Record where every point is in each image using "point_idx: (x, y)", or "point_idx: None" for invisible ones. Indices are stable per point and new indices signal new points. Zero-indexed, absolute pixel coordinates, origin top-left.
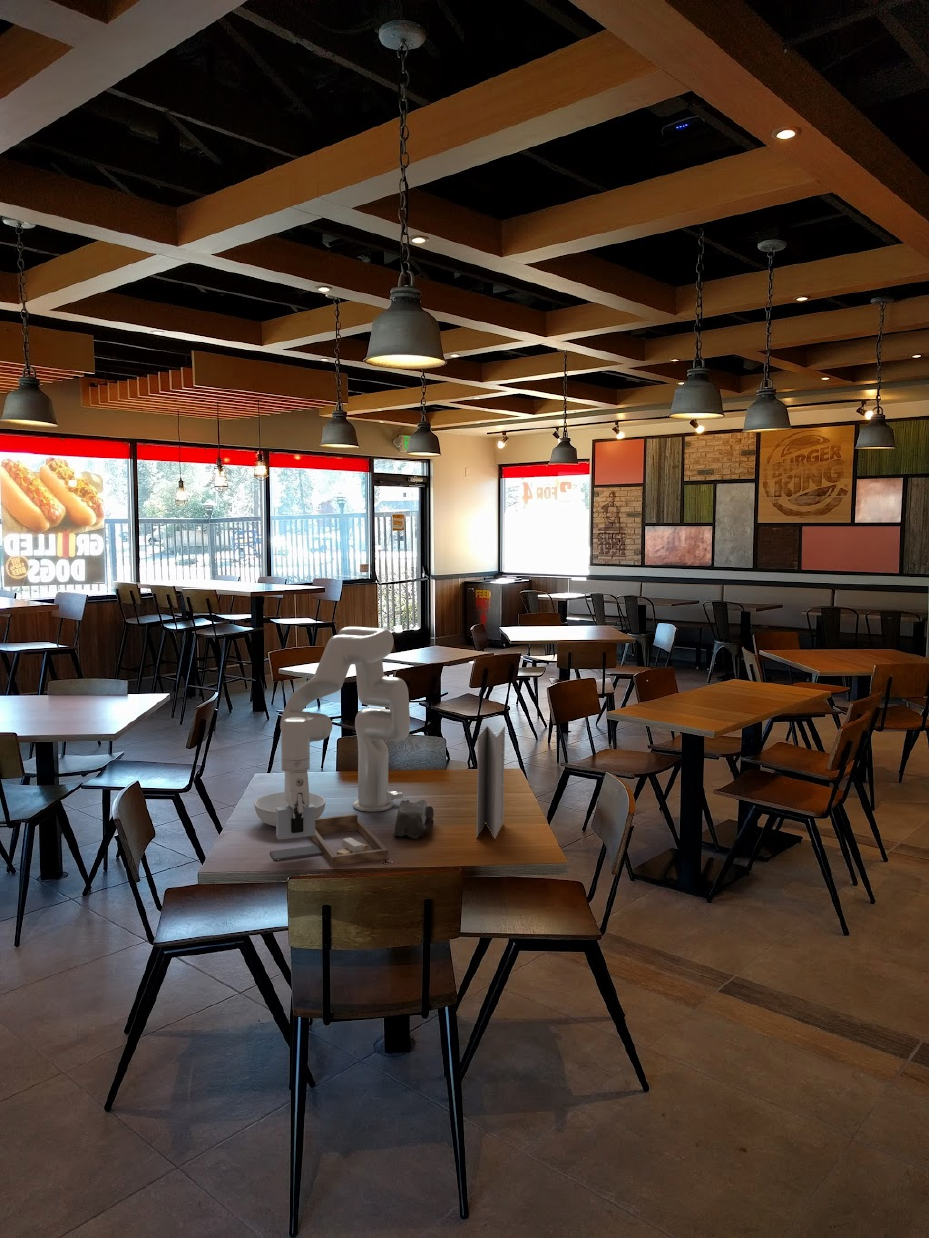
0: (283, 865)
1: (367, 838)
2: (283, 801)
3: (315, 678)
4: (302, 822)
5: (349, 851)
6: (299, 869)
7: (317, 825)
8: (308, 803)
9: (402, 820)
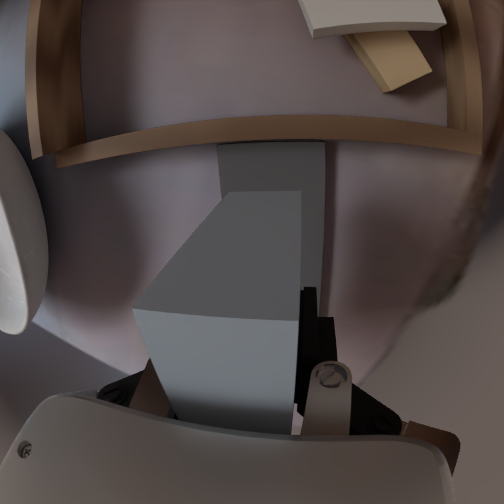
0: (372, 307)
1: None
2: None
3: None
4: (317, 331)
5: (406, 38)
6: (433, 268)
7: (58, 134)
8: (449, 477)
9: None
